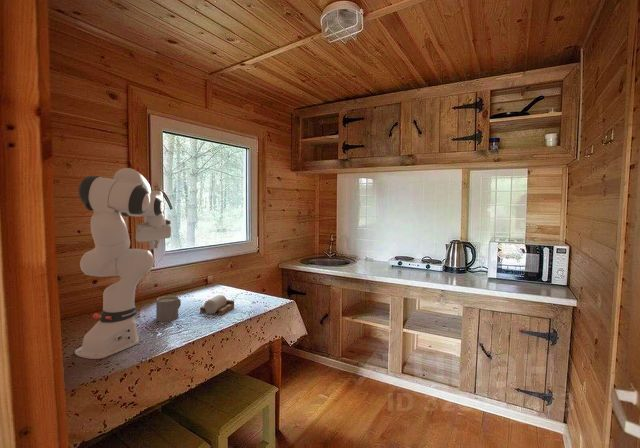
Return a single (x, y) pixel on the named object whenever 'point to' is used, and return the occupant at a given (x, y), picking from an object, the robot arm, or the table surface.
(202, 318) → the table surface
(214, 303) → the can
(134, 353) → the table surface
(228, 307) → the cradle
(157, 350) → the table surface
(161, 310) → the coffee mug
